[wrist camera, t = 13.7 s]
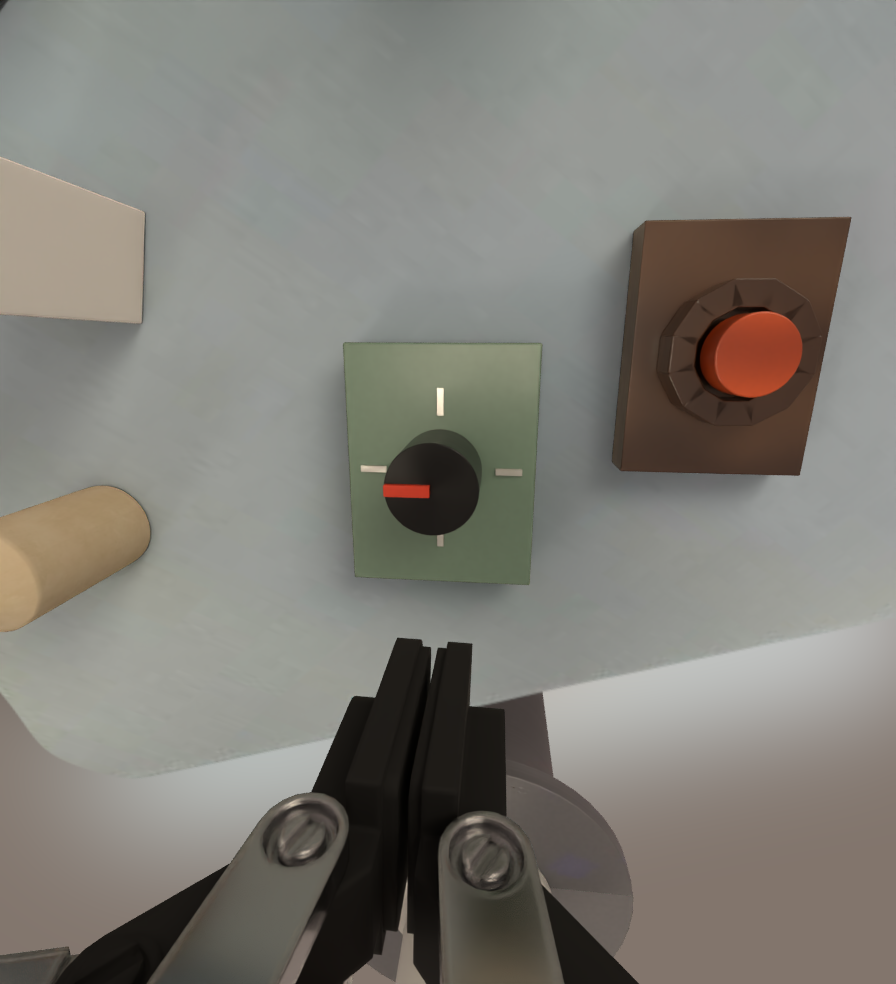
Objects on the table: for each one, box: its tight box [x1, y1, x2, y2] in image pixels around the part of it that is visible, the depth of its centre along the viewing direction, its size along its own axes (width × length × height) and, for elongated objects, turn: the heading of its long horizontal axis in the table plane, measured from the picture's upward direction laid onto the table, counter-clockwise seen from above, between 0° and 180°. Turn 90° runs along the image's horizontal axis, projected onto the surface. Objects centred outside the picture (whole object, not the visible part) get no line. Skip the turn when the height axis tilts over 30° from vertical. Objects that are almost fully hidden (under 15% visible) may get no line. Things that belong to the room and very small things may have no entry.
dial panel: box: [343, 342, 542, 585], centre depth 28 cm, size 13×10×3 cm
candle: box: [0, 486, 150, 632], centre depth 28 cm, size 6×6×10 cm
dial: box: [383, 429, 482, 536], centre depth 25 cm, size 4×4×4 cm
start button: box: [700, 311, 802, 398], centre depth 23 cm, size 4×4×2 cm
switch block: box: [612, 217, 851, 476], centre depth 25 cm, size 12×9×4 cm
